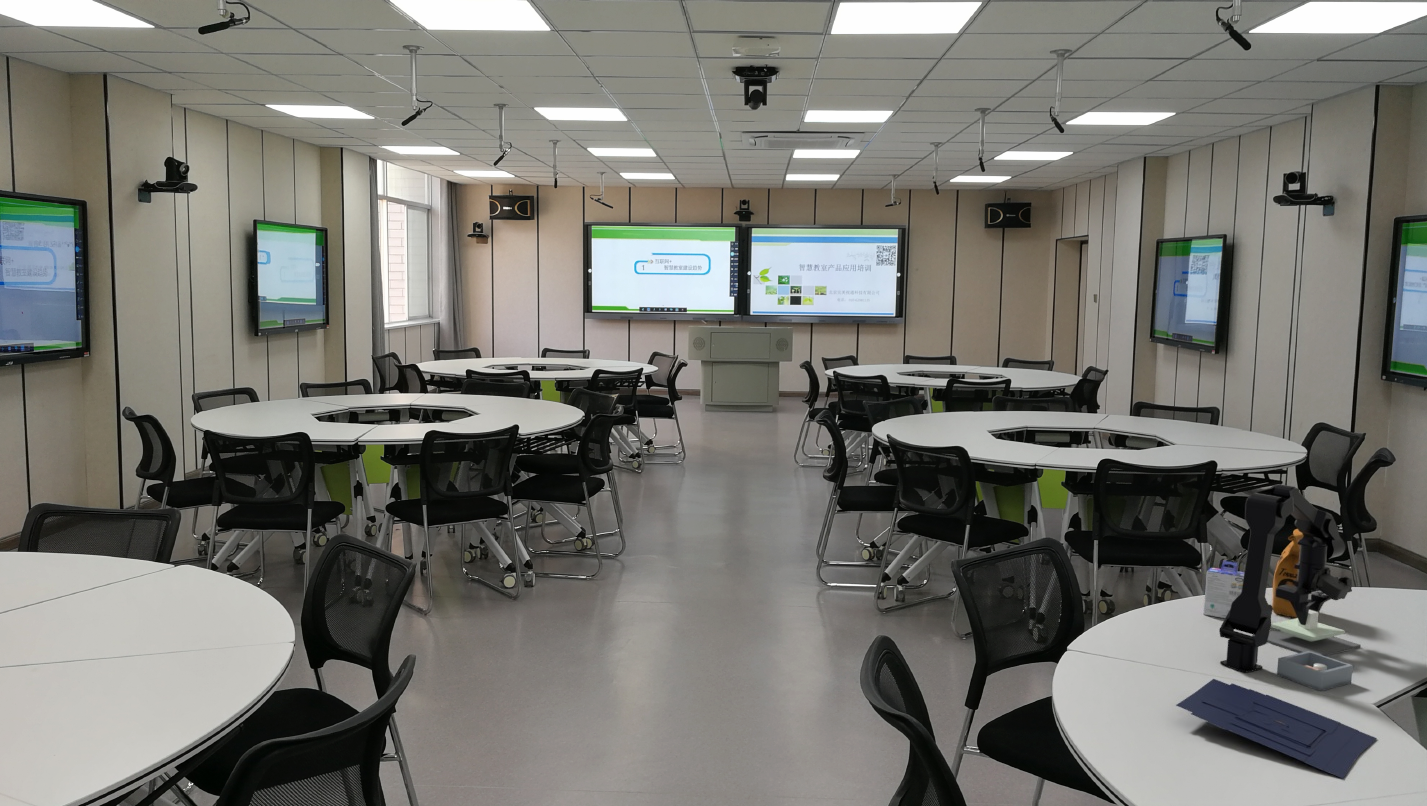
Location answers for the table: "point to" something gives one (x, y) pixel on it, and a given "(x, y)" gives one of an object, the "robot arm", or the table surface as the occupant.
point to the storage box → (1314, 670)
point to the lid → (1308, 628)
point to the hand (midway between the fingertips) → (1307, 623)
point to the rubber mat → (1310, 643)
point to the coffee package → (1287, 574)
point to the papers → (1279, 725)
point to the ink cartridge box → (1222, 589)
